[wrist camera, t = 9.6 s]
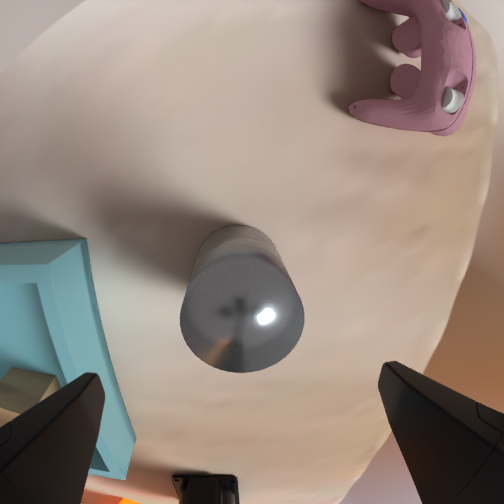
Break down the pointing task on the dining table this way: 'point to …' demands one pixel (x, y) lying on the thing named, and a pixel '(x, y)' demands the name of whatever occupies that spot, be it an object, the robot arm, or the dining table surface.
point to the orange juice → (127, 501)
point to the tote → (62, 333)
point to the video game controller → (426, 69)
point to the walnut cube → (23, 391)
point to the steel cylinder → (240, 303)
